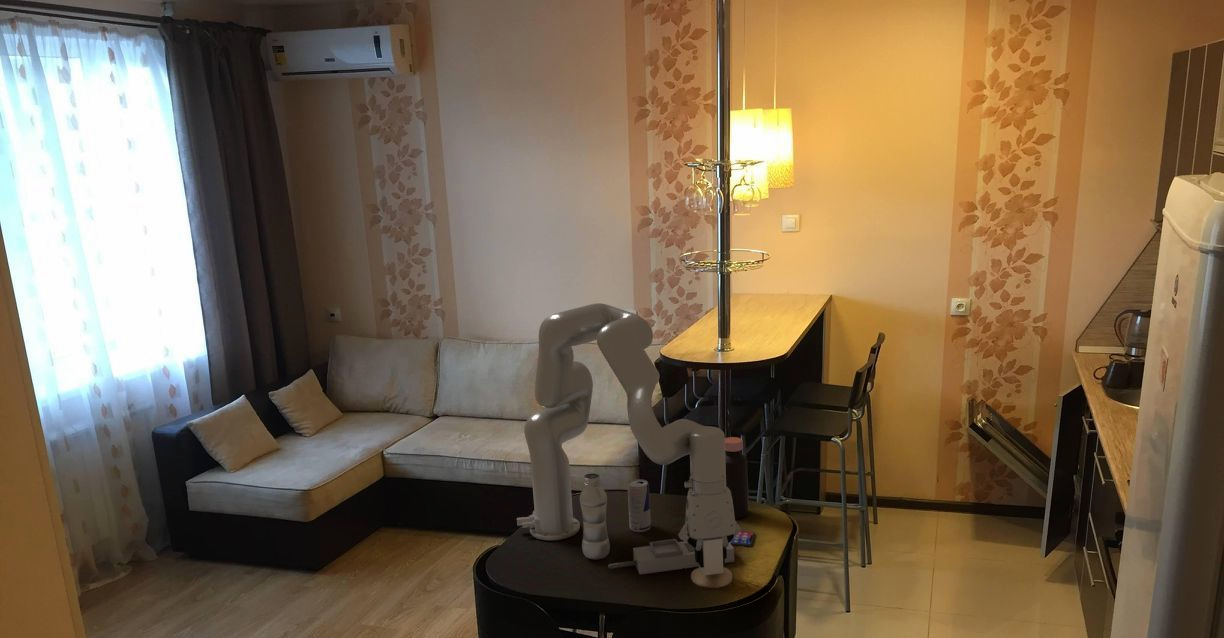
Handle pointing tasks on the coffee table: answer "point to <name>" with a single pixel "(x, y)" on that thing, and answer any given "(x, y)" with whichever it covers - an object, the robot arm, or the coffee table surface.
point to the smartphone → (743, 539)
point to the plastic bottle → (594, 518)
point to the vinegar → (737, 476)
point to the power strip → (666, 557)
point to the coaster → (711, 578)
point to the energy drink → (639, 505)
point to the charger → (712, 556)
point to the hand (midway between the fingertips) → (710, 562)
